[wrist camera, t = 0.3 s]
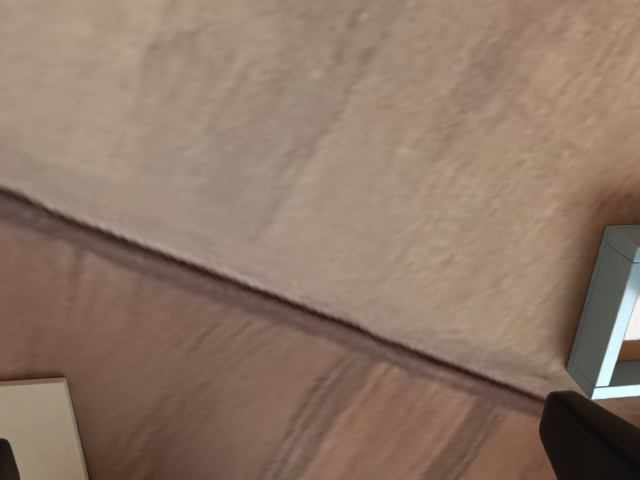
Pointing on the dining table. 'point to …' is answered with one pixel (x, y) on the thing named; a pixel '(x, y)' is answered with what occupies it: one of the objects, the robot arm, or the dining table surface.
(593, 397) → the holder
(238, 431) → the dining table surface
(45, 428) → the mat
